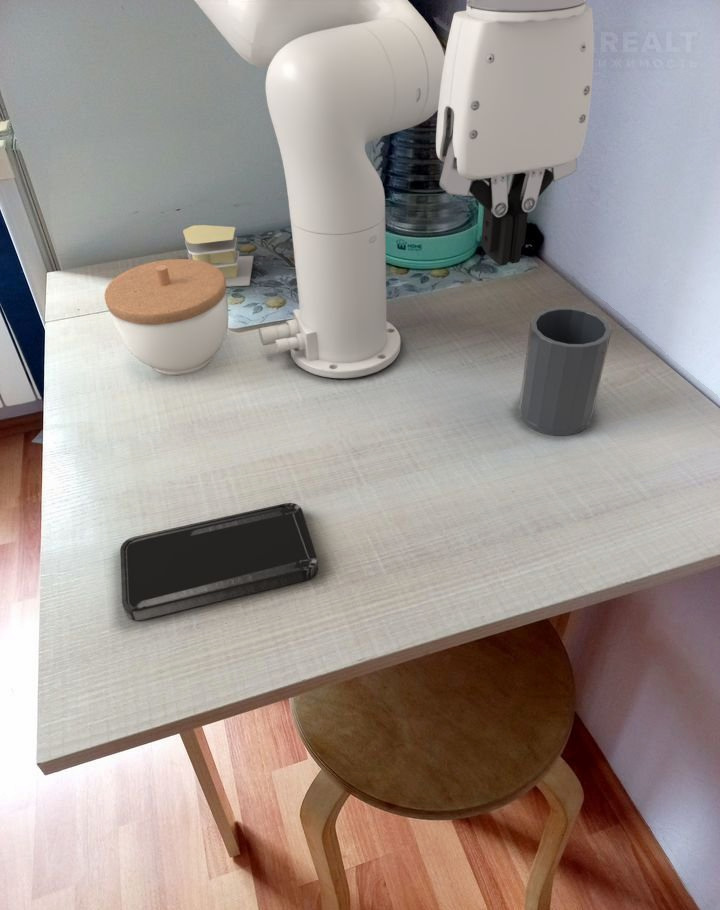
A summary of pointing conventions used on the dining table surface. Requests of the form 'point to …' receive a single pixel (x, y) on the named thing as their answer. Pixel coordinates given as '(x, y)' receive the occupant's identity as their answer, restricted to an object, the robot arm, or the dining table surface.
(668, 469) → the dining table surface
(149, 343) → the lidded bowl
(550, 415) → the cup
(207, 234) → the stacked layers on plate
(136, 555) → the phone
